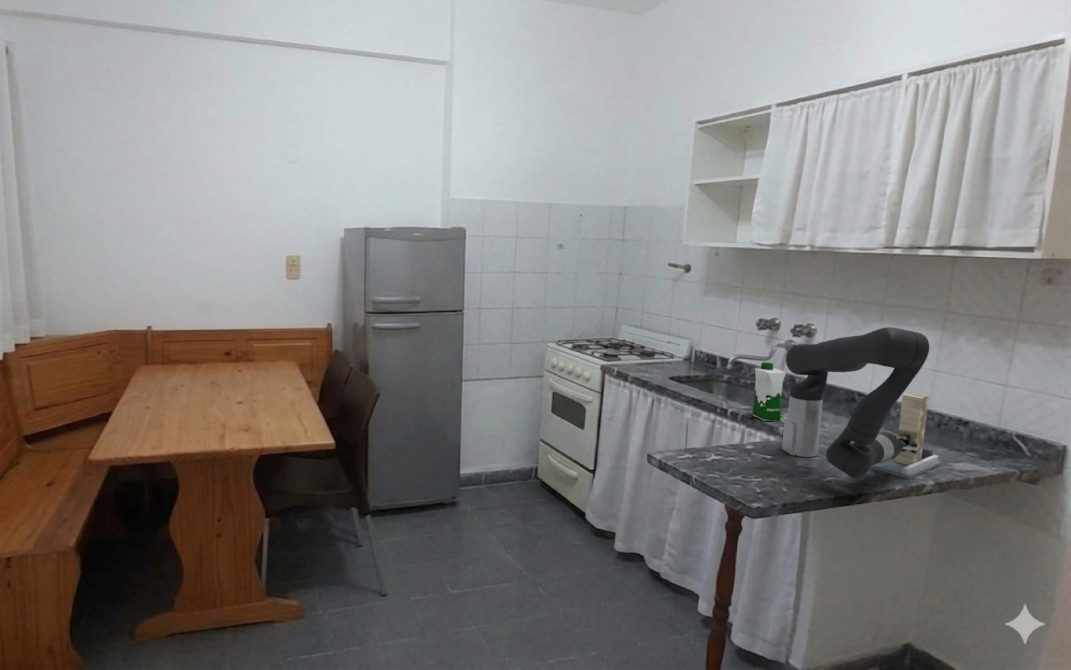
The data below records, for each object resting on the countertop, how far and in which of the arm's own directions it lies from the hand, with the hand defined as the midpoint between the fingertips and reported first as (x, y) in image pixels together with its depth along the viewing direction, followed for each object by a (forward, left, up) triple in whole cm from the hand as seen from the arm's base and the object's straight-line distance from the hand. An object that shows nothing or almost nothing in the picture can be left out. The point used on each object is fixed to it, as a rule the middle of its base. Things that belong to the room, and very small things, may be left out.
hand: (907, 437), depth 186 cm
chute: (+2, +1, -9) cm, 9 cm away
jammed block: (+2, +1, -8) cm, 8 cm away
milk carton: (-19, +51, -9) cm, 55 cm away
